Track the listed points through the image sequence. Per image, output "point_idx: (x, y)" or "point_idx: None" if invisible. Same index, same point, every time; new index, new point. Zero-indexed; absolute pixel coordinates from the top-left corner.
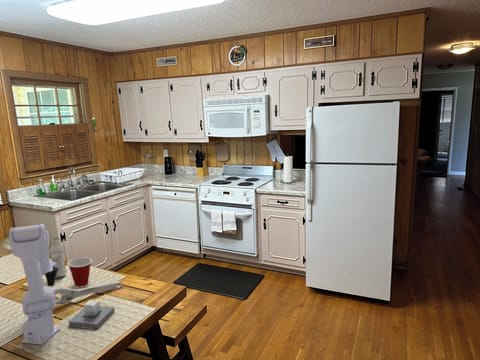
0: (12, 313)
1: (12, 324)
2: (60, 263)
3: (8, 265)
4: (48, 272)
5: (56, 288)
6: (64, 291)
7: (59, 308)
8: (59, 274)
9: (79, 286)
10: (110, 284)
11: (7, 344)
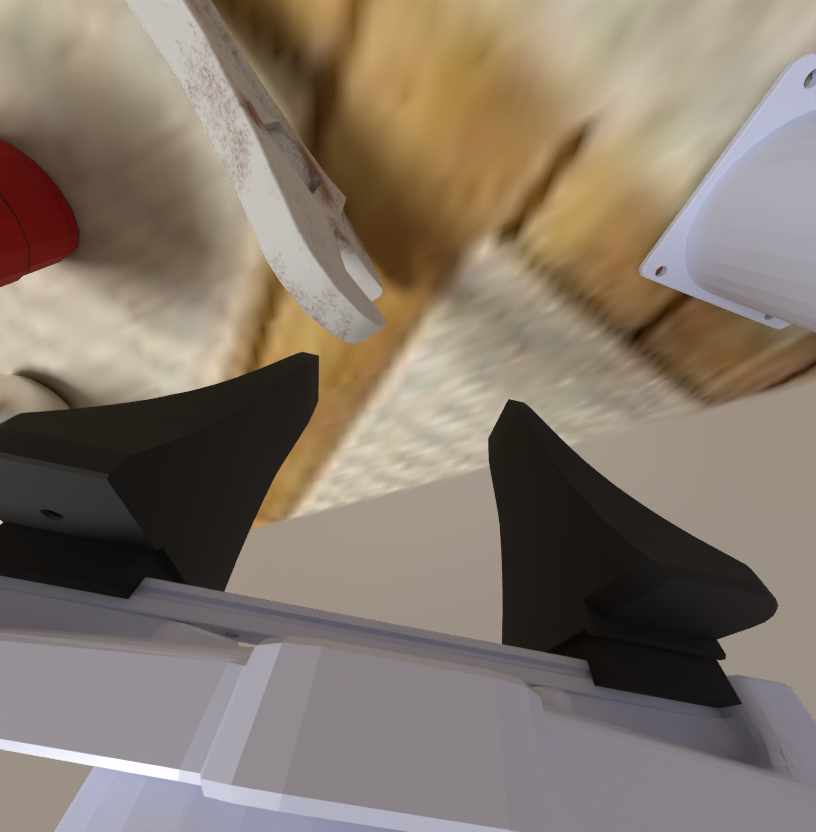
0: (411, 465)
1: None
2: None
3: None
4: (213, 534)
5: (308, 312)
6: (304, 211)
7: (395, 243)
8: (34, 403)
9: (64, 202)
10: None
11: (719, 395)
